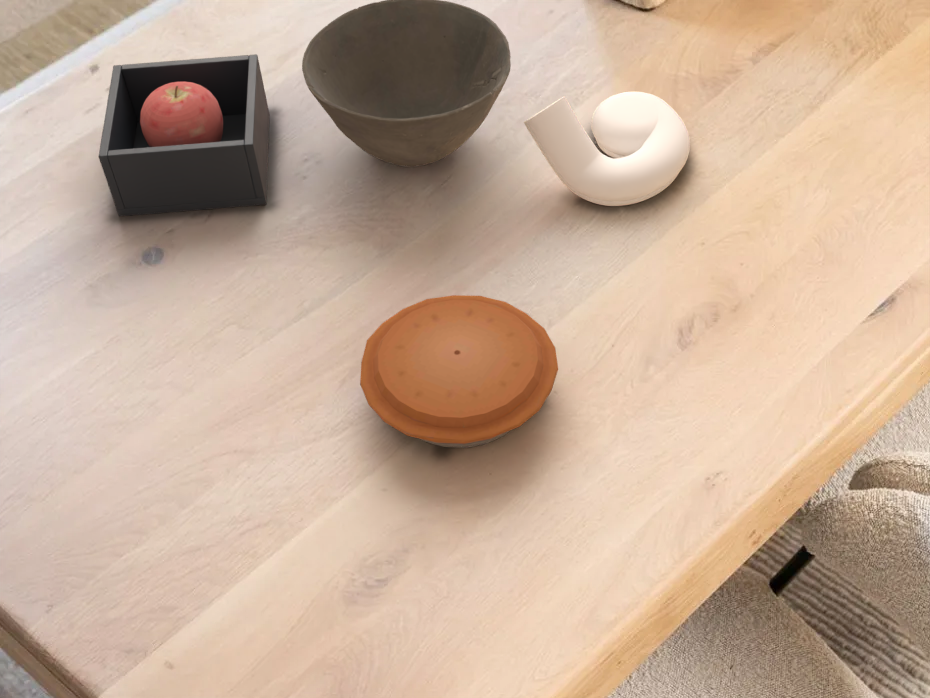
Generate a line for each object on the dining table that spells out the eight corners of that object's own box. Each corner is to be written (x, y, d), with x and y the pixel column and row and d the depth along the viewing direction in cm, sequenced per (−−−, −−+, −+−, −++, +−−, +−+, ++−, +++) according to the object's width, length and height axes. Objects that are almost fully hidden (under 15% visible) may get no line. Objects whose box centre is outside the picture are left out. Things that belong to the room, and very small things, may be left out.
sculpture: (720, 151, 117) (731, 79, 110) (619, 233, 110) (624, 161, 104) (620, 100, 122) (625, 28, 116) (519, 175, 116) (517, 103, 109)
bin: (118, 216, 114) (98, 156, 109) (131, 125, 122) (113, 65, 117) (266, 204, 114) (253, 144, 109) (269, 114, 123) (257, 53, 117)
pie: (515, 305, 105) (514, 261, 101) (586, 436, 97) (589, 394, 93) (341, 355, 103) (333, 312, 99) (398, 495, 94) (392, 454, 90)
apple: (233, 130, 120) (216, 58, 113) (229, 179, 115) (211, 107, 109) (156, 135, 120) (135, 63, 113) (149, 185, 115) (127, 113, 109)
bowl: (477, 228, 112) (472, 136, 104) (286, 189, 116) (268, 98, 108) (538, 105, 122) (538, 13, 114) (362, 73, 126) (350, -18, 118)
